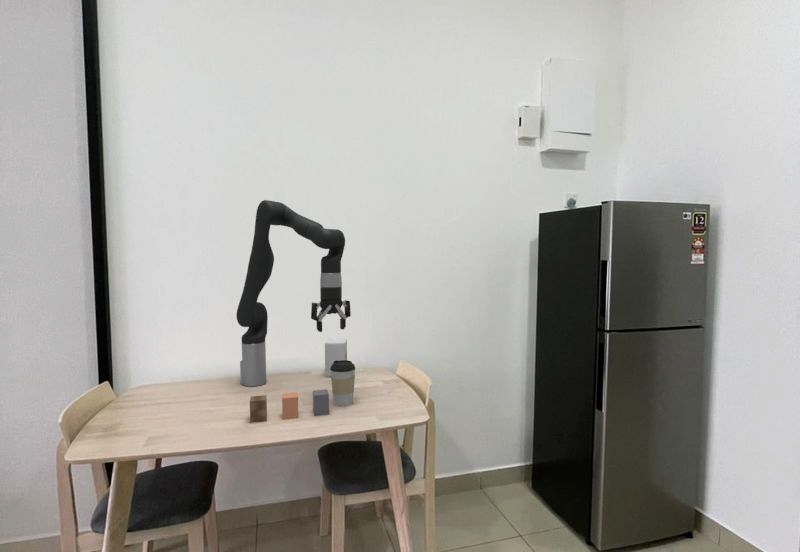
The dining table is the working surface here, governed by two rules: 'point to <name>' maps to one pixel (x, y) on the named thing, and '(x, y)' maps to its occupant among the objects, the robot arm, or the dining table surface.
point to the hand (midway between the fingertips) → (331, 330)
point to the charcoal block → (320, 402)
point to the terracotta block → (290, 405)
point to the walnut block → (258, 408)
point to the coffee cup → (342, 382)
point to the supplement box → (334, 353)
